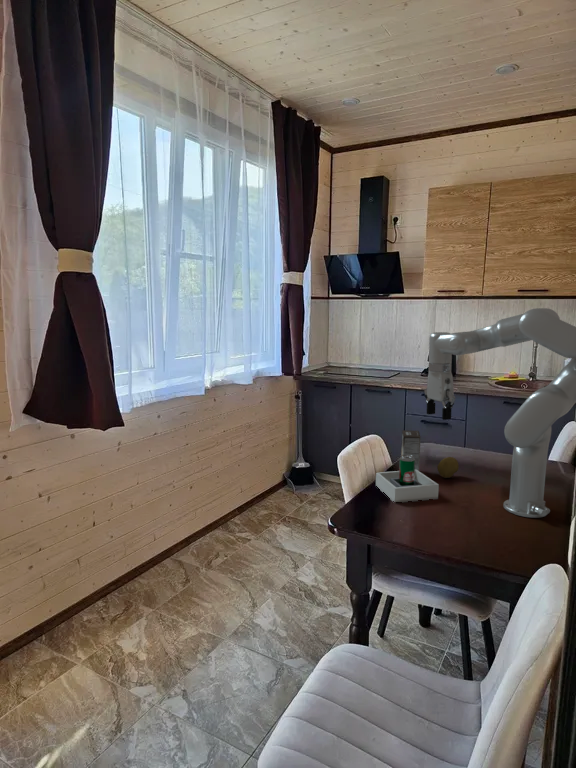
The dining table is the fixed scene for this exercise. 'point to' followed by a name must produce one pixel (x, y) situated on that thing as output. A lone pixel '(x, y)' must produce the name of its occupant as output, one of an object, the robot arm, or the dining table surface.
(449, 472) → the potato
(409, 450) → the coffee box
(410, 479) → the soda can
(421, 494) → the walled box
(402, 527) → the dining table surface
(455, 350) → the robot arm
